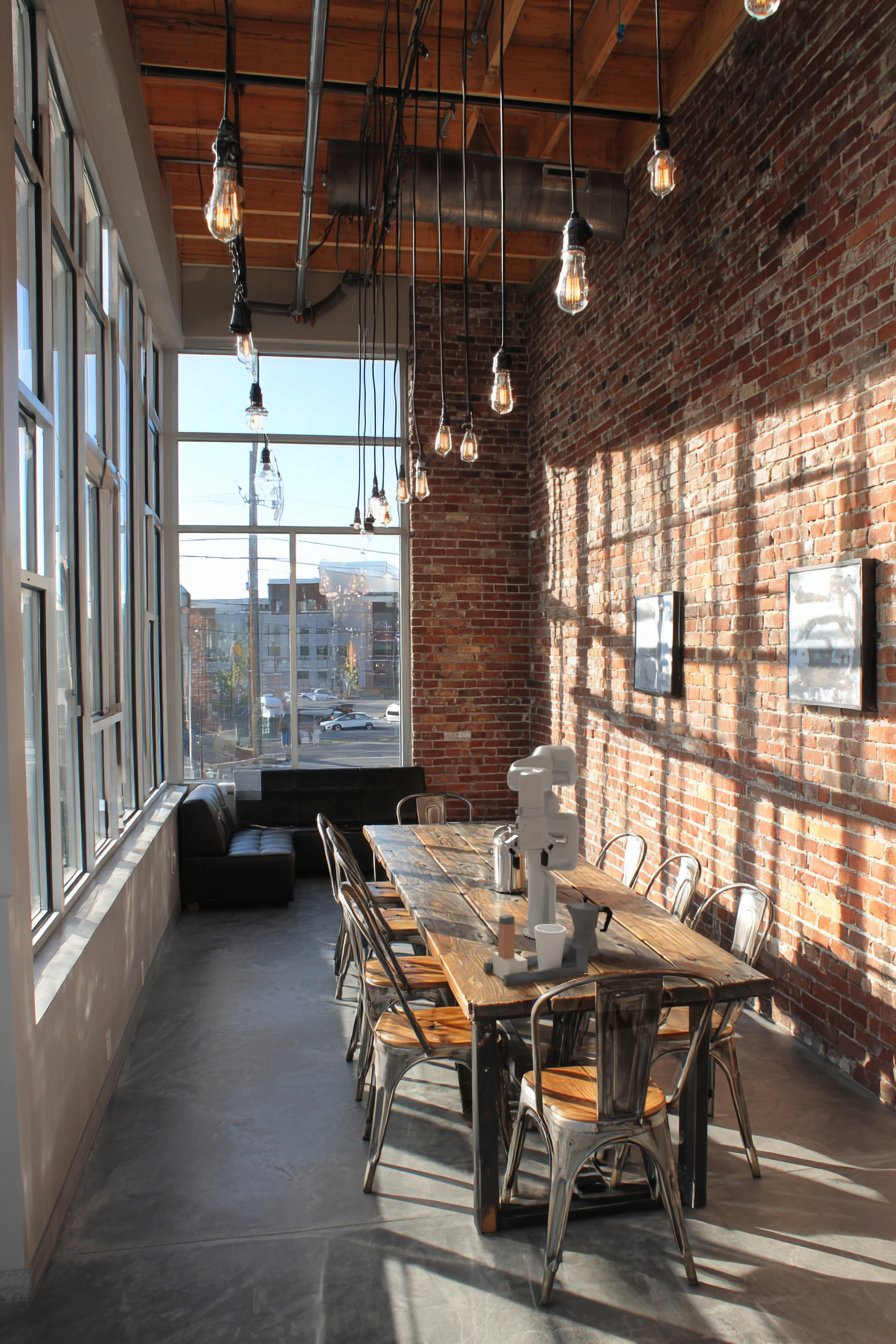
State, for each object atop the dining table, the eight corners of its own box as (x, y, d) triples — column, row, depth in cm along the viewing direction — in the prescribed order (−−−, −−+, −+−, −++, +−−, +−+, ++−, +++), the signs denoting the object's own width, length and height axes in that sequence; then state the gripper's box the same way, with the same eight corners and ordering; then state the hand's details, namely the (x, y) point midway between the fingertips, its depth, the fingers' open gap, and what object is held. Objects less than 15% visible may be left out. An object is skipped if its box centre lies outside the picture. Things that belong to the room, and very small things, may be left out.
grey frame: (483, 972, 280) (483, 945, 280) (564, 961, 292) (565, 935, 292) (505, 987, 267) (506, 959, 267) (589, 975, 279) (590, 948, 279)
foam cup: (563, 967, 286) (563, 924, 286) (568, 977, 277) (568, 932, 277) (531, 966, 286) (532, 924, 286) (535, 977, 276) (536, 932, 276)
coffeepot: (560, 954, 298) (561, 897, 298) (567, 946, 307) (568, 891, 307) (609, 961, 293) (609, 902, 293) (615, 952, 301) (615, 896, 301)
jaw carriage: (491, 973, 279) (492, 913, 279) (510, 970, 281) (511, 911, 281) (507, 983, 270) (508, 922, 270) (527, 980, 272) (528, 919, 272)
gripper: (511, 816, 283) (511, 873, 284) (561, 812, 290) (561, 867, 291) (500, 811, 290) (499, 867, 290) (549, 807, 297) (548, 861, 297)
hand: (530, 867), depth 290 cm, fingers open, 9 cm apart
